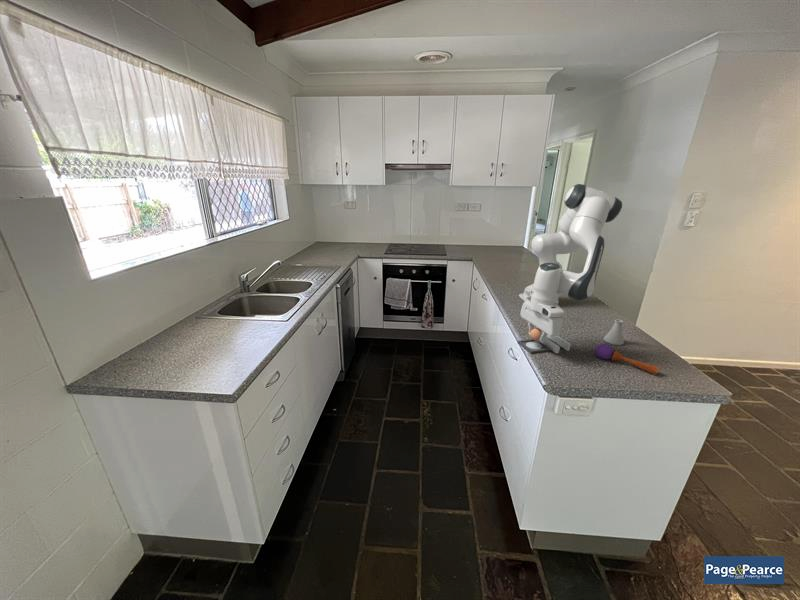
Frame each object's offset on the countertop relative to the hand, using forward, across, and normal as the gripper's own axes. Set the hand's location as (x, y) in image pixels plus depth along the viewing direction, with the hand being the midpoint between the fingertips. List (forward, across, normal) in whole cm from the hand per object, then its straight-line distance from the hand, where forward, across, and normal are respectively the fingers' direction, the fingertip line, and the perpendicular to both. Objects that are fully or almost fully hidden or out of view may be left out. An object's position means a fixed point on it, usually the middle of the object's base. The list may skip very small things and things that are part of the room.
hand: (536, 336), depth 131 cm
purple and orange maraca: (+6, +19, +25) cm, 32 cm away
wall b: (+5, -2, +6) cm, 8 cm away
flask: (+5, +4, +37) cm, 37 cm away
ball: (+2, 0, 0) cm, 2 cm away
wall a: (+5, -3, +12) cm, 13 cm away
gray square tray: (+5, 0, 0) cm, 5 cm away
